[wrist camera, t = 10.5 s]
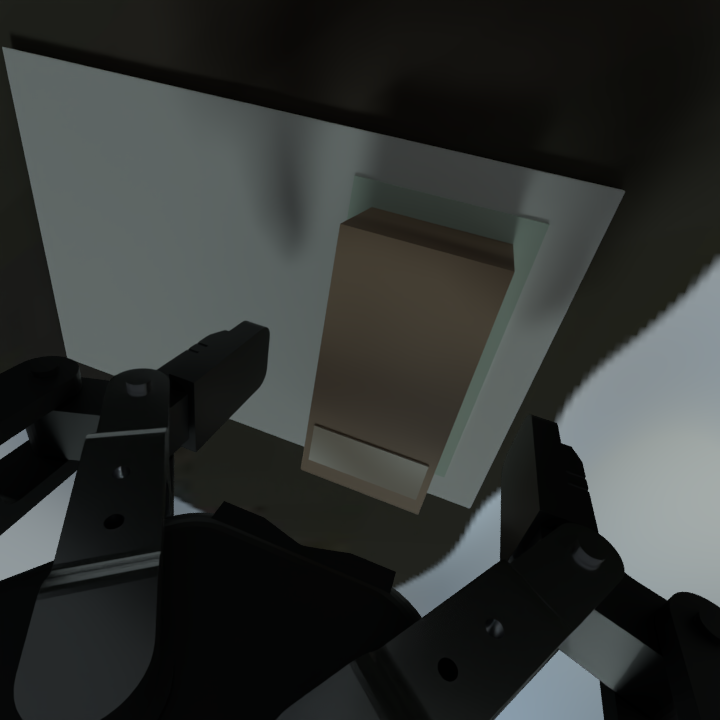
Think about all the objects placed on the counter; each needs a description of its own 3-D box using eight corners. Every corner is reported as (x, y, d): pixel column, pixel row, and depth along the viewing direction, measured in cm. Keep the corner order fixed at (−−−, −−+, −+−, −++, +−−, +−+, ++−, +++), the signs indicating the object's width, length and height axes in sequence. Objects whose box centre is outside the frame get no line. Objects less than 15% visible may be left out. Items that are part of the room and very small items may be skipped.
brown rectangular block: (371, 206, 13) (339, 224, 11) (512, 244, 13) (514, 272, 10) (329, 422, 18) (299, 470, 15) (431, 458, 17) (417, 516, 15)
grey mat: (74, 354, 22) (65, 358, 21) (13, 48, 15) (-1, 46, 15) (470, 501, 18) (469, 510, 18) (621, 189, 12) (626, 191, 11)
